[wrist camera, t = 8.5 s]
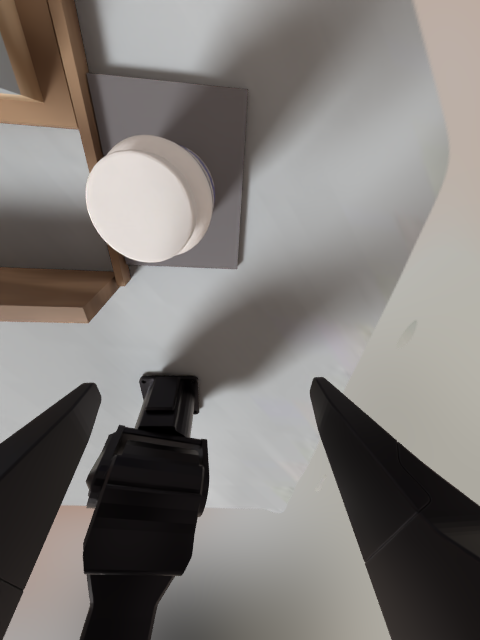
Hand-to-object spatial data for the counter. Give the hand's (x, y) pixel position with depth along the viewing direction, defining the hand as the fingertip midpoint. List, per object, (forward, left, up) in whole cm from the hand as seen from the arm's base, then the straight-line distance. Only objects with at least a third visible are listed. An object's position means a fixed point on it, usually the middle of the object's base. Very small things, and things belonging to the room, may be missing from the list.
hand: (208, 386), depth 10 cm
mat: (+6, +3, -13) cm, 14 cm away
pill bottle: (+6, +3, -12) cm, 14 cm away
